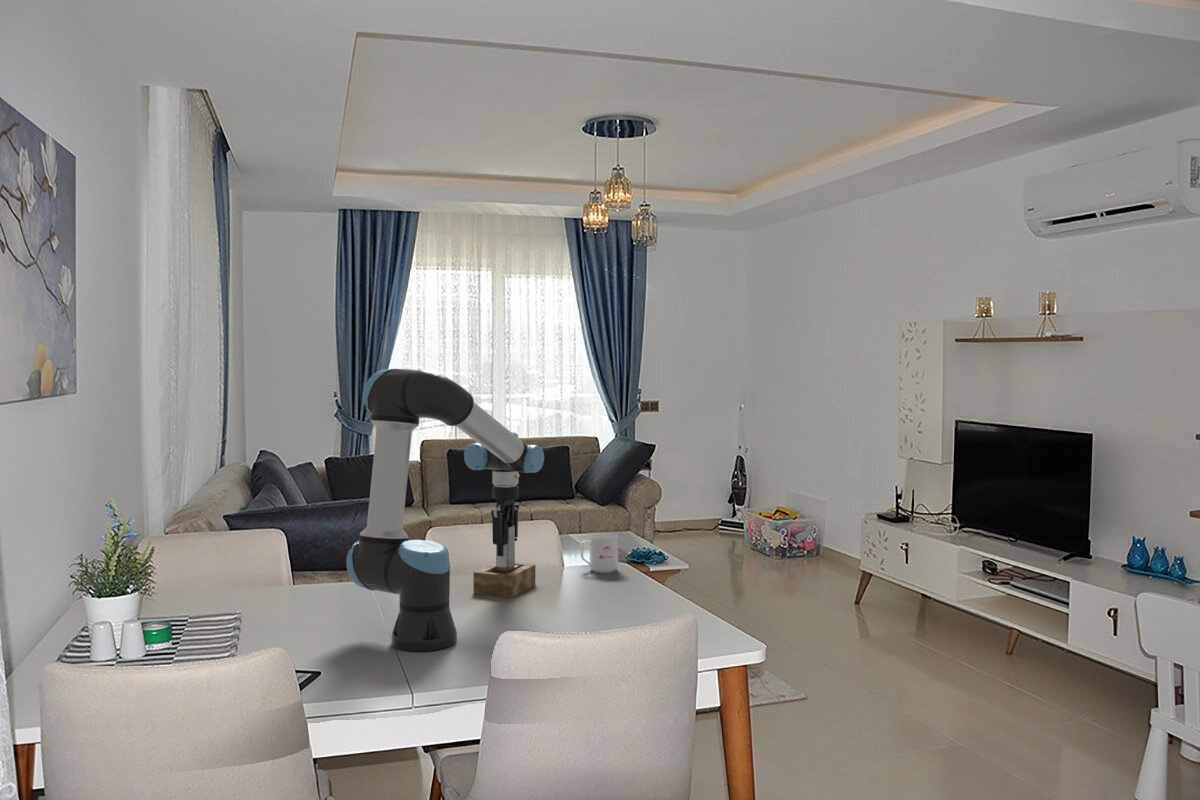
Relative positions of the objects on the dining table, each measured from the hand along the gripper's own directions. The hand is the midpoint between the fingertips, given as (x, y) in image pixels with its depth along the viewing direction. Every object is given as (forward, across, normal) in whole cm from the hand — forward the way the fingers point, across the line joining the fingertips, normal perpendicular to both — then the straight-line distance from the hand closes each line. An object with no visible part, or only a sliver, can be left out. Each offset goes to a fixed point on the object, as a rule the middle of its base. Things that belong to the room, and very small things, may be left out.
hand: (505, 564), depth 269 cm
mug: (+7, +32, -17) cm, 37 cm away
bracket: (+3, +1, 0) cm, 3 cm away
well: (+7, 0, 0) cm, 7 cm away
